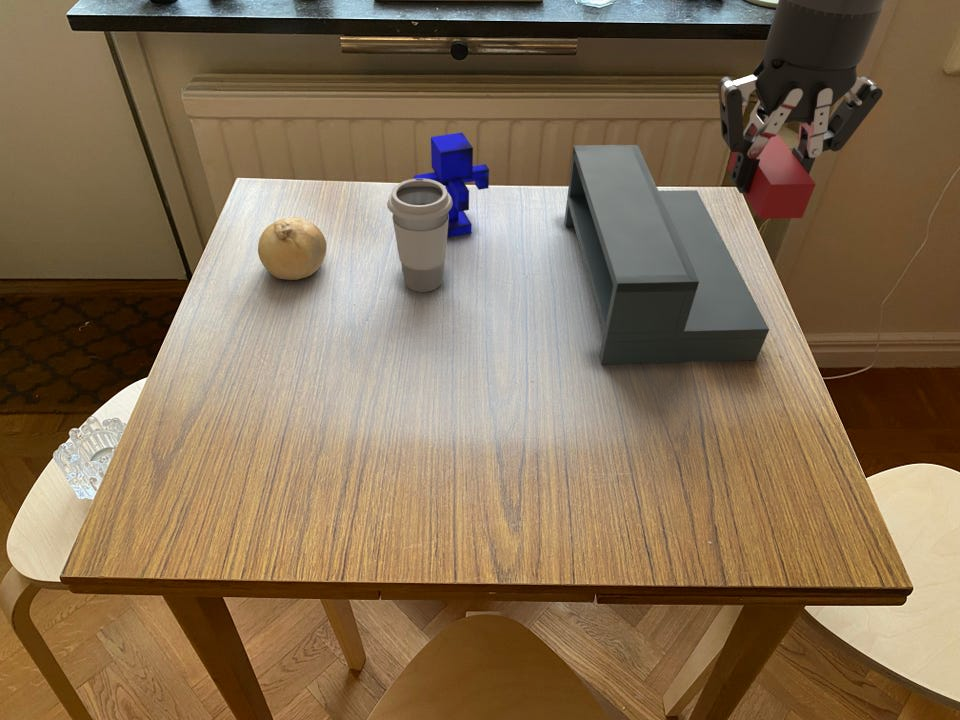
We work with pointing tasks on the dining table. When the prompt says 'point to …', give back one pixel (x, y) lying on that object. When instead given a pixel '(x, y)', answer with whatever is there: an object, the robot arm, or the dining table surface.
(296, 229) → the onion
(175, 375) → the dining table surface
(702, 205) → the shelf
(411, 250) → the cup
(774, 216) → the red rectangular block
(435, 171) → the figurine
